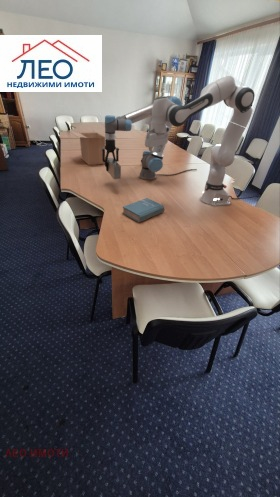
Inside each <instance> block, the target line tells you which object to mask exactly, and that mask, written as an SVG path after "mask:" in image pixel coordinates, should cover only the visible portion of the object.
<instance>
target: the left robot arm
mask: <svg viewBox="0 0 280 497" xmlns="http://www.w3.org/2000/svg"><path fill="white" fill-rule="evenodd" d="M165 97H167V98H168V99H169V100H170V101H171V102H173V103H175V104H176V105H179V106H183V103H182V100H181V98H179V97H178V96H173V95H172V96H171V95H166V96H165ZM152 108H153V103H151V104H149V105H146V106H144V107H141V108H138V109H136V110H134V111H131V112H128V113H126V114H123V115H121V116H120V115H119V116H117V117H116V116H115V115H113V114H112V115H111V114H108V115H105V116H104V132H105V148H102V161H103V162H105V164H104V167H105V170H106V172H108V163H107V160H108V158H109V155H110V154H112V158H113V159H114V160H115V161H116V162H117V163H118V162H119V161H120V160H119V159H120V158H119V152H120V148H119V147H117V146H116V132H131V131H132V127H133V124H135V123H138V122H140V121H143V120H145V119H149V118H150V117H151V118H152ZM166 126H167V127H169V128H170V130H169V132H168V133H169V134H170V132H171V129H172V127H173V125H172V124H171V123H170V122H166ZM166 145H167V144H163V148H162V152H158V149H159V147H160V145H159V146H154V147H153V149H152V151H153V154H150V151H149V150H143V152H142V158H143V159H142V158H141V160H142V163H141V169H140V172H139V178H140V179H142V180H146V181H154V180H156V178H157V176H163V174H161V173H160V174H159V173H158V174H157V172H159V171H161V170H162V169H163V166H164V164H163V163H164V162H163V161H164V160H163V159H164V154H163V153H164V151H165V147H166ZM188 171H197V168H192V169H186V170H182V171H179V172H177V173H172V174H165V176H167V177H168V176H176V175H179V174H182V173H185V172H188Z"/></svg>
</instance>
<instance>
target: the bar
mask: <svg viewBox="0 0 280 497" xmlns="http://www.w3.org/2000/svg"><path fill="white" fill-rule="evenodd" d="M107 163H108V171H107V173H108V174H109V175H110V176H111V178H112V179H113V180H121V178H122V176H121V175H122V170H121V169H122V165H120V163H118V161H117V162H116V161H115V160H114V159H113V157H108V160H107Z"/></svg>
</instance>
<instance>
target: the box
mask: <svg viewBox="0 0 280 497" xmlns="http://www.w3.org/2000/svg"><path fill="white" fill-rule="evenodd" d="M70 133H71V134H72V135H74V136H75V137H77V138H79V144H80V153H81V160H83V162H85V163H86V165H87V166H95V165H97V166H98V165H105V162H103V161H102V148H105V140H106V139H105V131H98V132H96V131H95V130H92V129H91V130H77V132H76V131H70Z"/></svg>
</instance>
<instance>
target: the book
mask: <svg viewBox="0 0 280 497" xmlns="http://www.w3.org/2000/svg"><path fill="white" fill-rule="evenodd" d="M122 210H123V212H122V215H124V216H126V217H128V218H129V219H131V220H133V221H135V222H137V223H138V224H139V223H142V222H144V221H146V220H148V219H150V218H153V217H155V216H157V215H160V214H162V213H164V212H165V205H163V204H161V203H159V202H157V201H155V200H152V199H150V198H148V197H146V198H143V199H141V200H137V201H134V202H132V203H129V204H126V205H124V206H122Z"/></svg>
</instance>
